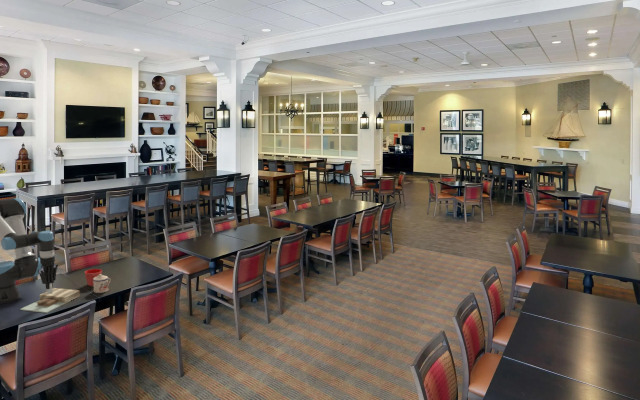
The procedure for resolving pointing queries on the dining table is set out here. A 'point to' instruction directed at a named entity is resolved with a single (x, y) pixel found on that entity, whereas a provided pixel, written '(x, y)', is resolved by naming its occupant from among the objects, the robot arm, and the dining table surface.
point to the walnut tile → (47, 302)
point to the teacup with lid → (101, 283)
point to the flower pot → (92, 275)
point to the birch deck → (61, 295)
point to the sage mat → (42, 307)
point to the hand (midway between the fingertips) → (49, 293)
